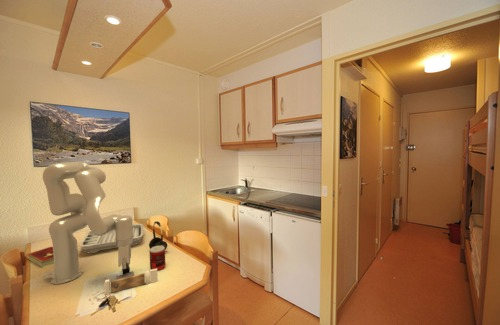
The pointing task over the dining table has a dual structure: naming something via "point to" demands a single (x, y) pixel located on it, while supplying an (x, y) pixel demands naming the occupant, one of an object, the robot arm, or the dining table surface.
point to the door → (127, 282)
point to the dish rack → (107, 240)
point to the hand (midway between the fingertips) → (126, 275)
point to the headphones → (157, 239)
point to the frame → (148, 275)
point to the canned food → (157, 258)
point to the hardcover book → (42, 257)
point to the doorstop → (125, 275)
